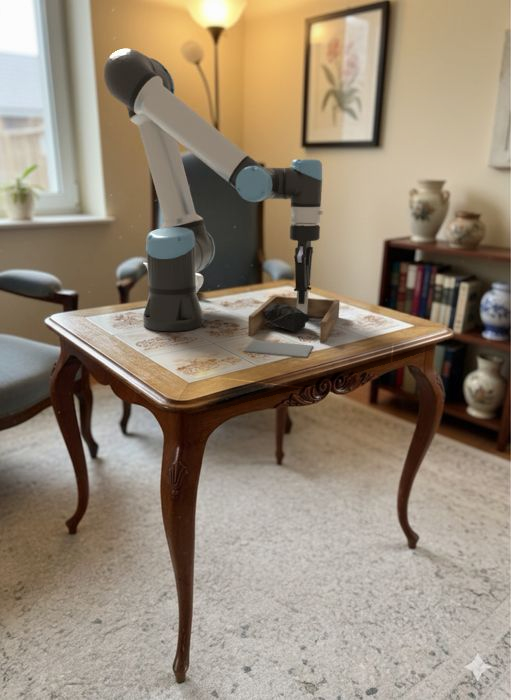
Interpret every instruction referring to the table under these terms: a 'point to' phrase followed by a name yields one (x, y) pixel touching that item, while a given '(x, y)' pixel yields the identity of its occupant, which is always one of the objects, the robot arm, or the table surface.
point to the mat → (279, 348)
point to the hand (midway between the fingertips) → (301, 314)
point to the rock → (286, 317)
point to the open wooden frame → (317, 311)
